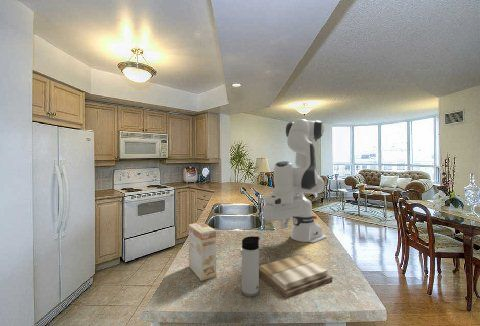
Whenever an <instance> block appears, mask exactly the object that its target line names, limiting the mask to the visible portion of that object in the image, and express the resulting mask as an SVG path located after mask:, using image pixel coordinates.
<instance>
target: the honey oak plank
mask: <svg viewBox="0 0 480 326" xmlns="http://www.w3.org/2000/svg"><path fill="white" fill-rule="evenodd" d="M312 262H313V261H311V260H309V259H307V258H306V257H304V256H302V255H300V254H298V255H293V256H291V257H286V258H282V259H279V260H275V261H272V262H268V263H263V264H259V268H260V270H261V271H262V272H263V273H264V274H265V275H267V276H268V277H269V278H270V279H272V274H275V273H279V272H282V271H285V270H289V269H292V268H295V267H299V266H302V265H305V264H309V263H312Z"/></svg>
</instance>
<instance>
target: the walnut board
mask: <svg viewBox="0 0 480 326" xmlns="http://www.w3.org/2000/svg"><path fill="white" fill-rule="evenodd" d="M260 277H261V279H263V281H265V282H266V283H268V284H269V285H270V286H271V287H272V288H273V289H274V290H276V291H277V292H278V293H280V294H281V295H282V296H283V297H284V298H286V299H287V298H288V297H291V296H294V295H296V294H300V293H302V292H303V293H304V292H305V291H309V290H311V289H314V288H316V287H319V286H321V285H324V284H326V283H329V282H332V281H333V278H334V277H333V276H332V275H330V274H328V273H327V276H324V277H321V278H318V279H316V280H313V281H310V282H307V283H304V284H301V285H299V286H296V287H293V288H290V289H287V290H284V289H283V288H281V287H280V286H279V285H278V284H276V283H275V282H274V281H273V280H272V279H270V278H269V277H268V276H267V275H265V274H264V273H263V272H262V271H261V270H260V267H259V278H260Z"/></svg>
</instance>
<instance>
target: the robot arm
mask: <svg viewBox="0 0 480 326" xmlns="http://www.w3.org/2000/svg"><path fill="white" fill-rule="evenodd" d="M324 131H325V127H324V124H323V122H322V121H321V120H309V119H308V120H306V119H303V118H298V119H296V120H294V121H290V122H288V123H287V124H286V127H285V135H286V137H287V145H288V148H289V149H290V150H291V151H293V152H295V166H296V167H293V163H292V162H291V161H287V160H286V161H285V160H283V161H279V162H276V163H275V165H274V168H273V184H274V188H273V193H272V194H269V195H268V196H267V197H265V198H264V203H265V204H264V207H263V219H264V220H265V221H266V222H269V223H270V222H275V221H276V222H277V221H278V222H279V224H280V228H281V229H285V228H289V223H290V220H291V218H292V229H291V233H290V238H291V240H294V241H296V242H301V243H302V242H306V243H312V244H314V243H317V242H319V241H322V240H324V239H327V235H326V234H325V233H323V228H322V226H321V225H319V224H318V223H317V222H316V221H315V220H317V219H318V216H317V215H313V204H312V201H311V200H310V199H308V198H307V197H306V196H305V194H313V195H315V194H321V193H322V192H323V191H324V189H325V186H326V185H325V181H324V179H323V177H321V176H320V175H319V174H318V172H317V165H316V164H317V163H316V161H317V160H316V150H315V146H316V145H315V142H317V141H318V140H319V139H321V138H322V136H323V134H324ZM284 219H285V220H284Z"/></svg>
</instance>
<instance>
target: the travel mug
mask: <svg viewBox="0 0 480 326" xmlns="http://www.w3.org/2000/svg"><path fill="white" fill-rule="evenodd" d="M260 239H261V238H260V237H259V236H253V235H252V236H246V237H243V238H242V240H241V248H242V251H241V293H242V295H244V296H246V297H252V298H253V297H256V296H257V295H258V294H259V291H260V288H259V287H260V286H259V285H260V276H259V268H260V246H259V244H260V242H259V241H260Z"/></svg>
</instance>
